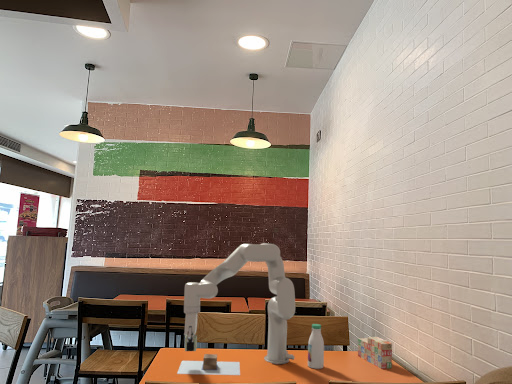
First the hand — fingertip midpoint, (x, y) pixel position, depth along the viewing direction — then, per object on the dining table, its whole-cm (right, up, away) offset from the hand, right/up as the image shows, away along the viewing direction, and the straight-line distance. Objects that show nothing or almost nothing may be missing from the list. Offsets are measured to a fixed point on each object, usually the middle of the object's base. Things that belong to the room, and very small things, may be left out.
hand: (190, 348), depth 182 cm
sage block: (0, 0, 0) cm, 1 cm away
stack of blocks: (+92, -15, +20) cm, 96 cm away
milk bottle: (+60, -13, +9) cm, 62 cm away
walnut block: (+9, -9, -1) cm, 12 cm away
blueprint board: (+9, -9, -1) cm, 13 cm away
